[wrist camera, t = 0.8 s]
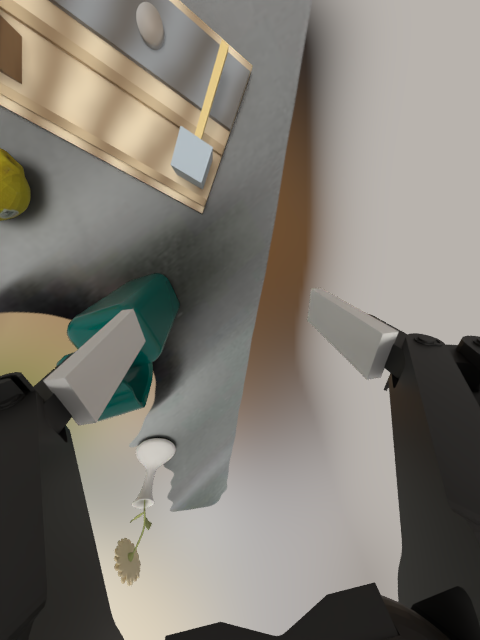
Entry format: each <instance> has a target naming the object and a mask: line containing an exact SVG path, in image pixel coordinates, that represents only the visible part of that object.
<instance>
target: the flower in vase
mask: <svg viewBox="0 0 480 640" xmlns="http://www.w3.org/2000/svg"><path fill="white" fill-rule="evenodd" d="M175 451H176V448H175V446H174V444H173V443H172V442H171V441H169V440H167V439H162V438H153V439H148V440H146V441H144V442H142V443H141V444H140V445H139V446H138V447H137V448H136V456H137V458H138V460H139V461H140V462H141V463H142V464H143V465H144V466H145V468H146V477H145V481H144V484H143V487H142V489H141V492H140V494H139V495H138V497H137V498H136V500H135V501H134V502H133V504H132V506H133V507H135V508H138V509H144V512H143V513H144V526H143V531H142V533H141V536H140V538H139V541H138V543H137V545H136V547H134V544H133V543H132V544H131V541H130V540H129V539H128V540H127V538H124V539H121V541H118V546H117V548H116V549H115V554H116V556H115V558H114V559H115V561H116V562H117V563H116V564H115V566H114V568H115V570H116V571H117V570H119V571H118V576H119V577H121V576H122V577H121V582H122V584H123V583H125V580H126V581H127V584H128V586H130V585H132V583H133V580H134V581H136V580H137V578H139V572H140V565H141V564H140V561H139V556H138V553H137V549H136V548H137V546H138V544H139V542H140V539H141V537H142V535H143V532H144V529H145V526H146V528H147V529H148V530H149V528H150V526H151V524H152V523H150V522H149V521H148V520H147V518H146V517H145V508H148V507H151V506H152V505H153V504H154V500H153V497H152V485H153V479H154V475H155V472H156V470H157V469H158V468H159V467H160V466H161V465H163V464H164V463H166V462H167V461H168V460H169V459H171V458H172V457H173V455H174V453H175ZM143 513H141V514H139V515H137V516H136V517H135V518H134V519H133V520H135V519H137V518H139V517H140V516H141V515H142V514H143ZM133 520H131V522H132V521H133Z"/></svg>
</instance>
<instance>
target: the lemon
mask: <svg viewBox="0 0 480 640" xmlns="http://www.w3.org/2000/svg"><path fill="white" fill-rule="evenodd" d="M30 197H31V195H30V187H29V185H28V182H27V180H26V178H25V175H24V170H23V167H22V166H21V165H20V164H19V163H18V162H17V161H15V159H14V158H13V157H12V156H10V155H9V154H8V153H7V152H6V151H5V150H3V149H1V148H0V221H2V220H7V219H11V218H14V217H16V216H18V215H20V214H21V213H22V212H24V211H25V210H26V209H27V207H28V205H29V202H30Z"/></svg>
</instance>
